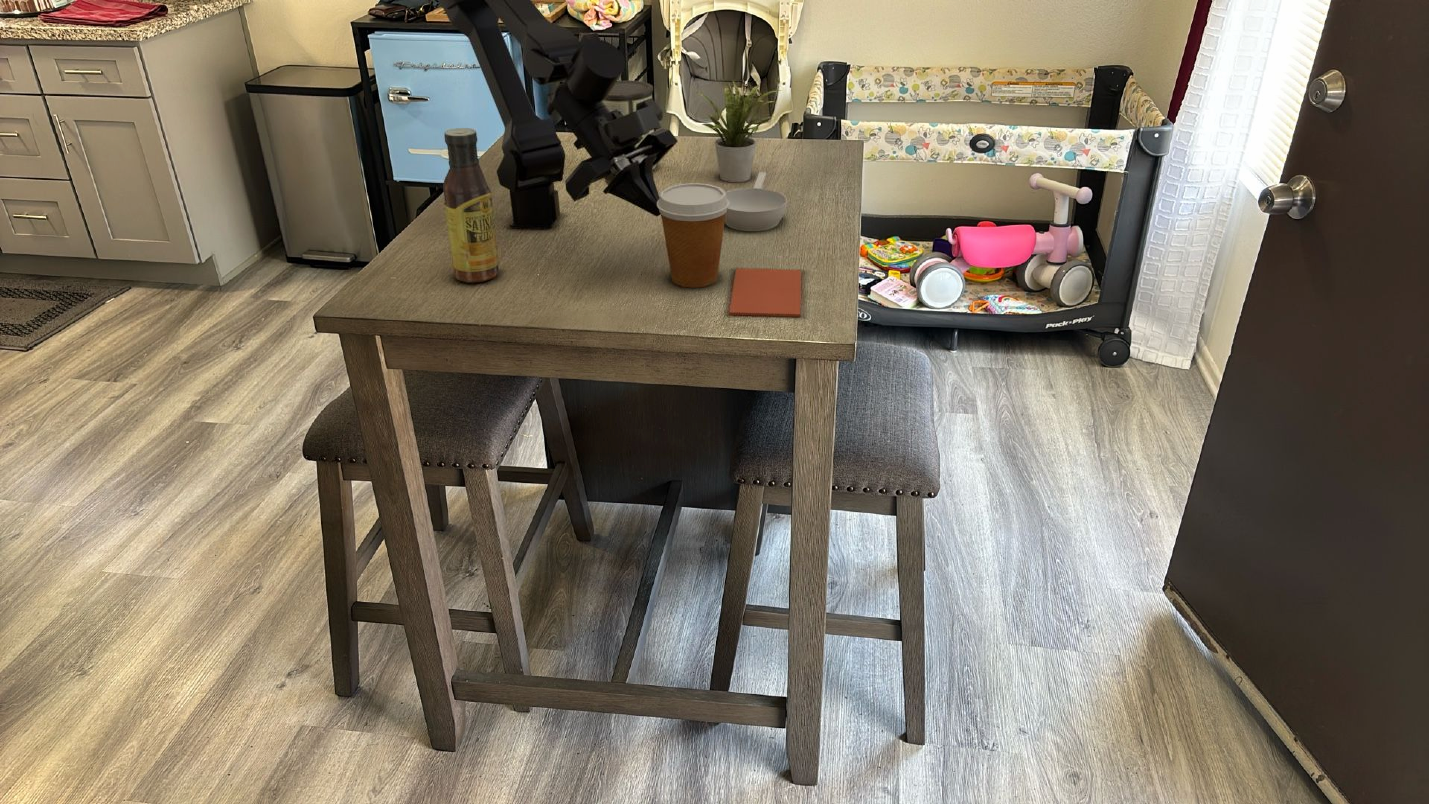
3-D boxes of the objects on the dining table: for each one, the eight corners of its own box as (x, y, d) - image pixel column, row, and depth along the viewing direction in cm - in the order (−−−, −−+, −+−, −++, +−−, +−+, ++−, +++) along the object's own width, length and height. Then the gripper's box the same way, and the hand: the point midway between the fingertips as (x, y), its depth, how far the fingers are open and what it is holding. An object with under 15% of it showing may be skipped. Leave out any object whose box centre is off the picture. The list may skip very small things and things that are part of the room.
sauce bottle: (477, 288, 132) (456, 141, 122) (444, 279, 135) (421, 134, 125) (511, 272, 137) (493, 129, 127) (477, 263, 140) (458, 122, 130)
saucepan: (711, 231, 150) (711, 207, 148) (730, 192, 165) (730, 170, 163) (782, 235, 148) (782, 211, 146) (794, 196, 163) (795, 173, 161)
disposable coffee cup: (722, 295, 130) (721, 208, 124) (652, 290, 132) (648, 203, 125) (735, 267, 138) (735, 184, 132) (669, 262, 140) (666, 180, 133)
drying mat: (729, 315, 125) (729, 312, 125) (736, 270, 137) (736, 268, 137) (800, 317, 124) (800, 314, 124) (801, 272, 136) (801, 269, 136)
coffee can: (609, 156, 182) (604, 78, 175) (662, 160, 180) (660, 81, 173) (590, 174, 174) (584, 92, 167) (646, 178, 172) (643, 95, 165)
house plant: (799, 179, 170) (803, 83, 162) (739, 197, 163) (740, 97, 154) (744, 161, 180) (745, 68, 171) (685, 176, 172) (683, 81, 164)
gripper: (575, 97, 120) (652, 200, 121) (663, 68, 134) (732, 161, 134) (533, 151, 128) (605, 248, 128) (620, 119, 141) (686, 206, 142)
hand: (660, 213), depth 133 cm, fingers closed
